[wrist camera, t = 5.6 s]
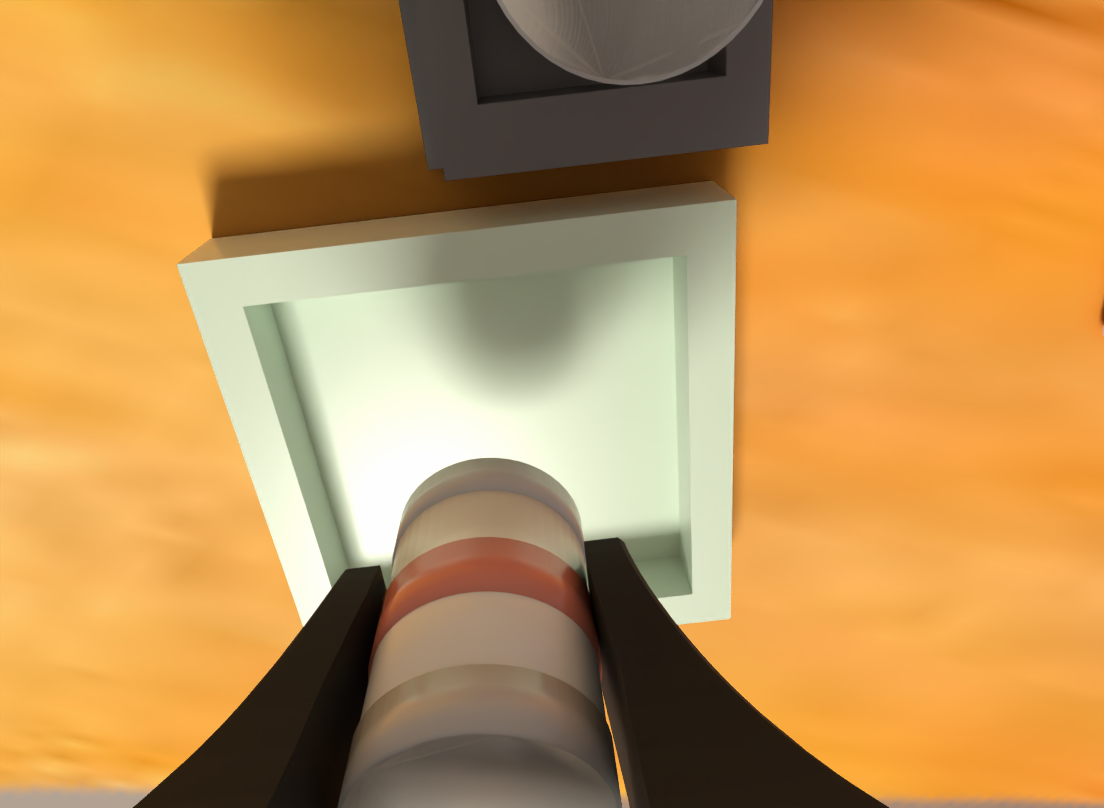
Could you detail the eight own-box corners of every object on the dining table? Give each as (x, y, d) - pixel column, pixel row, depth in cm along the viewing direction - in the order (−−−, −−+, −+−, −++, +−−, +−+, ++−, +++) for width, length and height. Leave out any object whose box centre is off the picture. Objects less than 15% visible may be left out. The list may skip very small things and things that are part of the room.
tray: (712, 180, 16) (737, 199, 14) (712, 570, 21) (730, 618, 20) (211, 238, 16) (176, 264, 14) (332, 615, 21) (317, 666, 20)
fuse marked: (577, 450, 14) (621, 718, 8) (585, 597, 15) (624, 899, 10) (385, 465, 14) (307, 743, 8) (413, 611, 15) (363, 922, 10)
